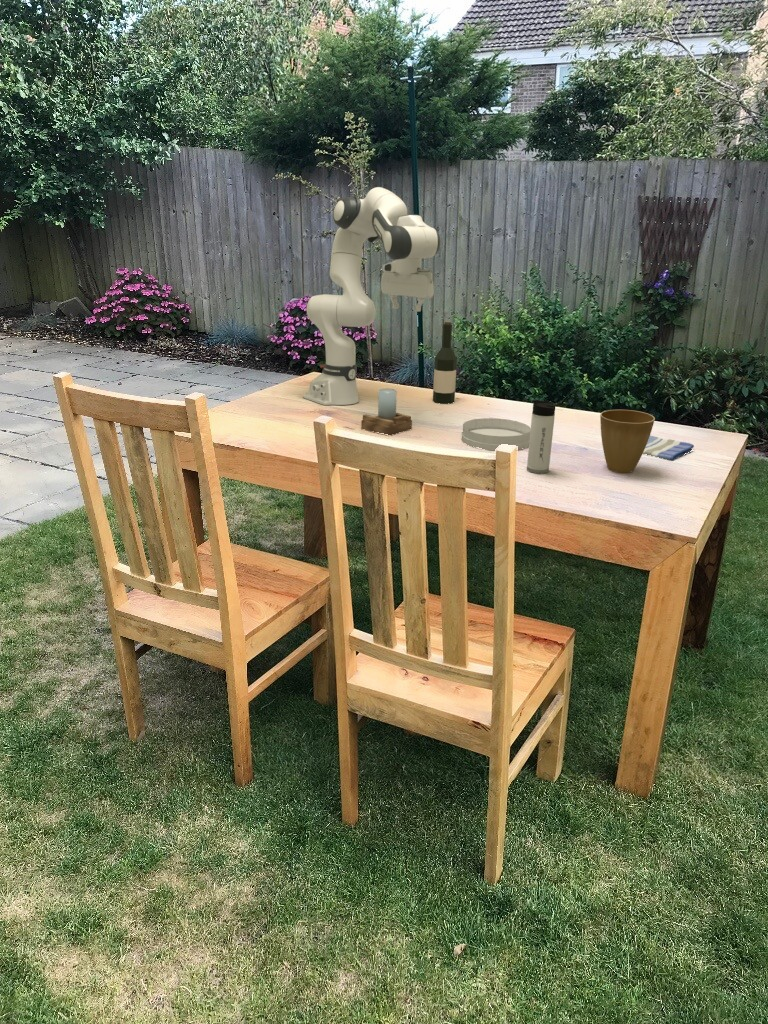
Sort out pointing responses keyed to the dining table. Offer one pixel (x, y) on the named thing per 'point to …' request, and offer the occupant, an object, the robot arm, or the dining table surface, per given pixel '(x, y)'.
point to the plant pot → (624, 438)
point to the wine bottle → (445, 369)
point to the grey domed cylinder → (387, 403)
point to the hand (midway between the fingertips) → (406, 309)
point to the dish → (495, 433)
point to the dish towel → (666, 448)
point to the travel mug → (541, 437)
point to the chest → (387, 424)
